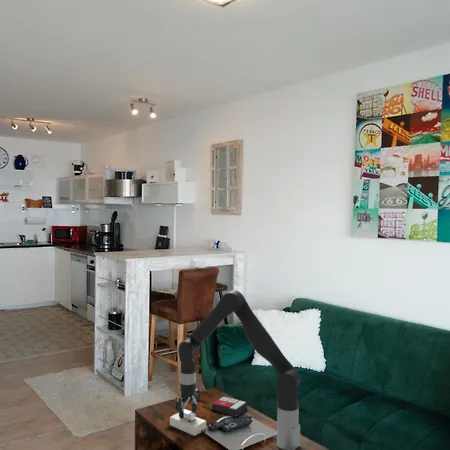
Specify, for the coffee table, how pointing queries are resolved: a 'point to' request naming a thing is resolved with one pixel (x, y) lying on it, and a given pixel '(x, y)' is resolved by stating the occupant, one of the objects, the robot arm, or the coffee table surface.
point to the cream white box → (187, 424)
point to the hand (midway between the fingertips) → (187, 414)
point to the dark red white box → (229, 406)
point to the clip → (189, 415)
